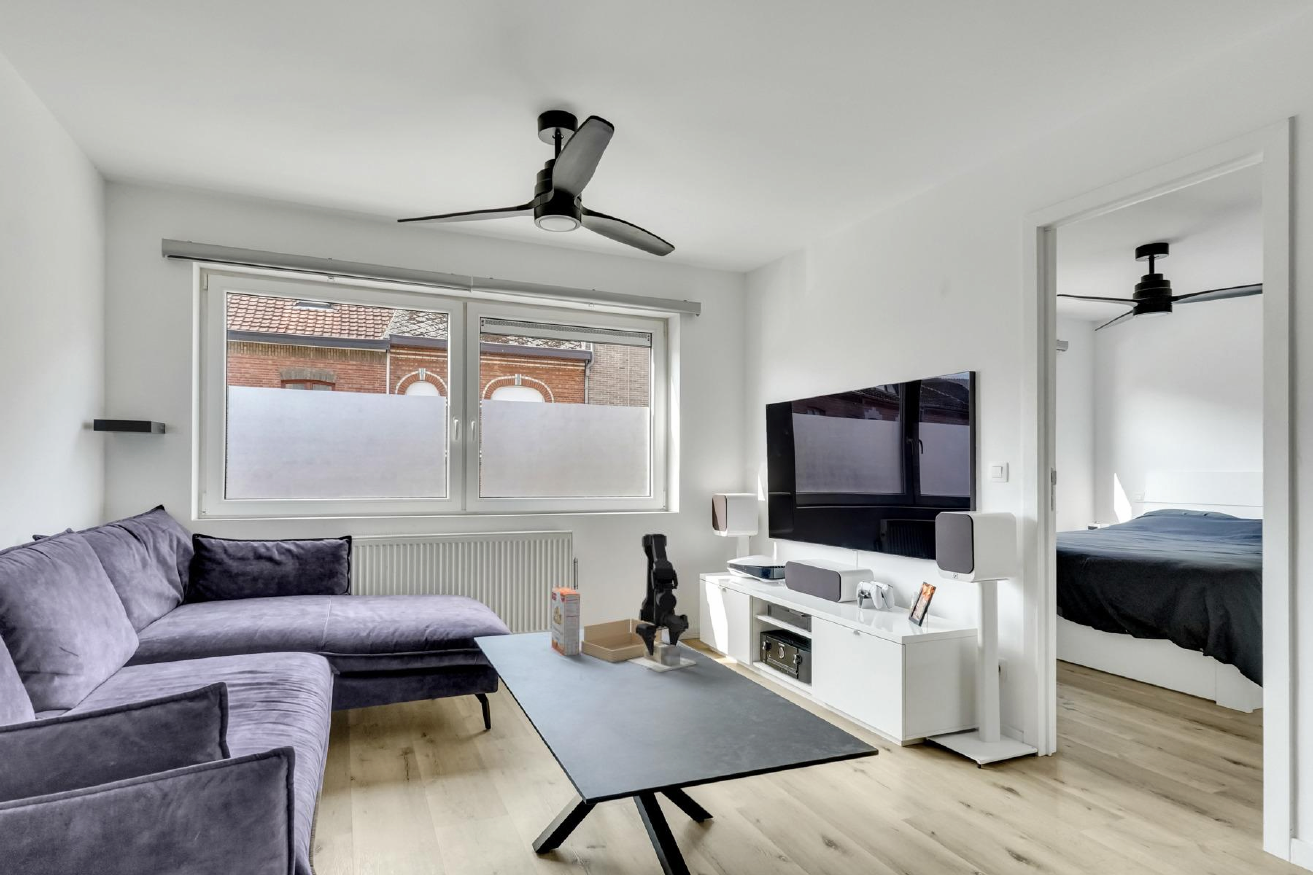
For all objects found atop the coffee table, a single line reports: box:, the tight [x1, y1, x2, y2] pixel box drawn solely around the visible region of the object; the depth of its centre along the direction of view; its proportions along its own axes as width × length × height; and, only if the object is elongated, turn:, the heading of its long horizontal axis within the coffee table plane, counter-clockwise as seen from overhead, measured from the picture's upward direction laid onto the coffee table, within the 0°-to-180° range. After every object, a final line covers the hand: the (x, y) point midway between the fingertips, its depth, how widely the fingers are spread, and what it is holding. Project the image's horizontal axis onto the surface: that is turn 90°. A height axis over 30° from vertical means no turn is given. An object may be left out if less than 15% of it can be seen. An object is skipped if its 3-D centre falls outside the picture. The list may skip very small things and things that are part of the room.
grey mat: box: [626, 656, 697, 674], centre depth 246 cm, size 16×16×1 cm
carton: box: [580, 618, 664, 663], centre depth 258 cm, size 22×17×9 cm
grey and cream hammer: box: [643, 641, 682, 666], centre depth 246 cm, size 13×5×5 cm, turn 41°
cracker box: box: [551, 586, 581, 656], centre depth 260 cm, size 14×6×21 cm, turn 25°
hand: (662, 653), depth 246 cm, fingers open, 9 cm apart
